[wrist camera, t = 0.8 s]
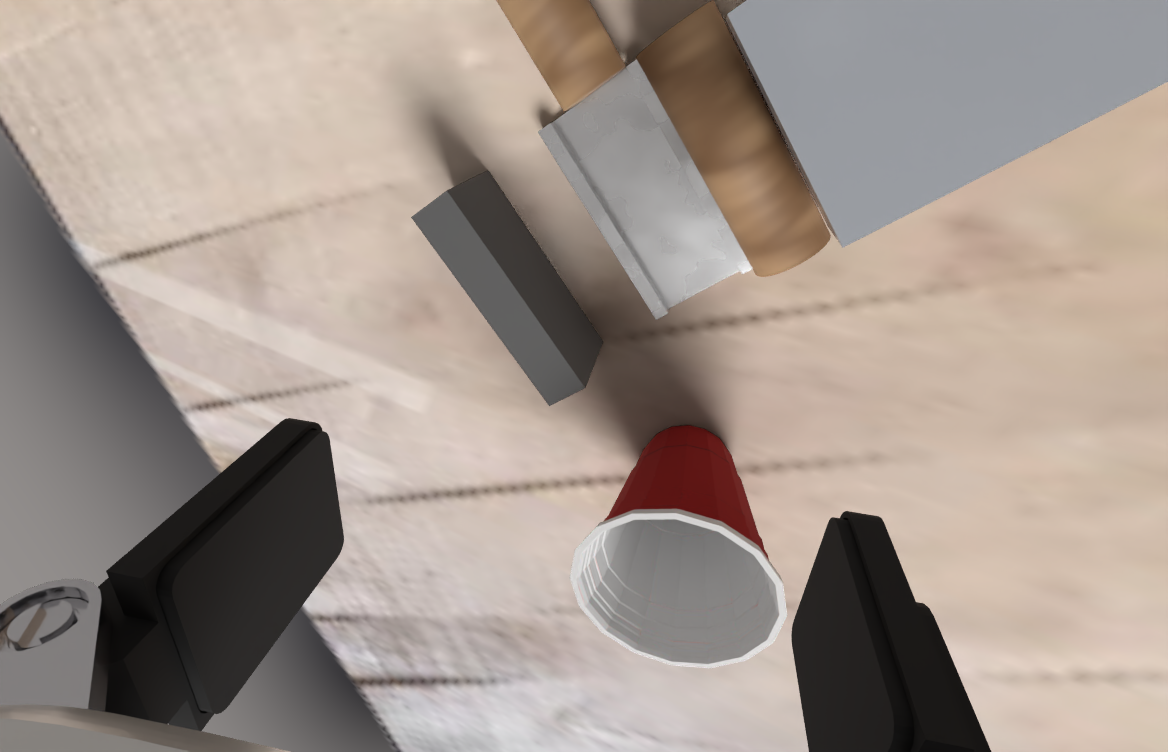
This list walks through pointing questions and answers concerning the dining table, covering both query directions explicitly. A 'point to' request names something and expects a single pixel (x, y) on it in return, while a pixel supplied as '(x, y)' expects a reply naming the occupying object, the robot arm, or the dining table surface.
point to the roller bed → (734, 141)
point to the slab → (937, 88)
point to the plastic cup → (681, 560)
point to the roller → (565, 45)
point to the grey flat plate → (644, 191)
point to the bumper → (512, 285)
